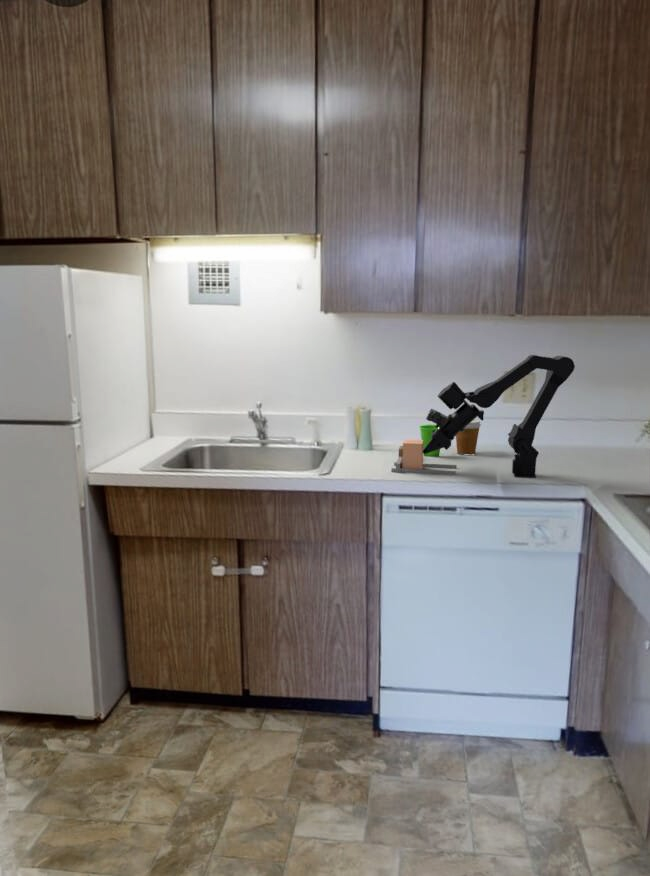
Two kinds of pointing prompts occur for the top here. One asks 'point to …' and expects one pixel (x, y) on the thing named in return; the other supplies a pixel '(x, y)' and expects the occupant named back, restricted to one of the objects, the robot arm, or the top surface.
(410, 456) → the terracotta block
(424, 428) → the cup
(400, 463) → the track
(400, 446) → the walnut block
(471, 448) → the disposable coffee cup
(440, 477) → the top surface
